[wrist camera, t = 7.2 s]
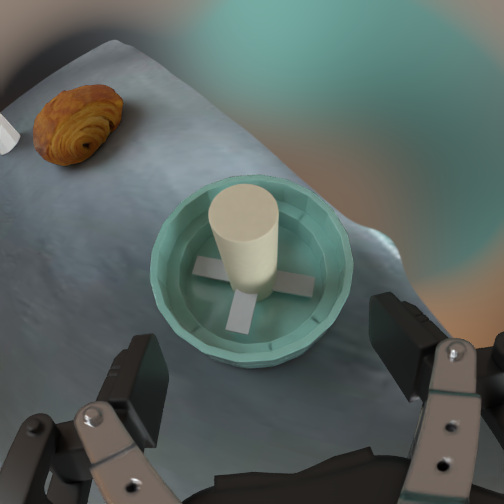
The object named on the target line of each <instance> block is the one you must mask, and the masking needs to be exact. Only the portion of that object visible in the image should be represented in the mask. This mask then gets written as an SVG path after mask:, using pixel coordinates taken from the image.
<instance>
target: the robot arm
mask: <svg viewBox="0 0 504 504" xmlns="http://www.w3.org/2000/svg"><path fill="white" fill-rule="evenodd" d="M369 337H370V341H371V344H372V346H373V348H374V349H375V351H376V352H377V354H378V355H379V357H380V358H381V360H382V361H383V363H384V364H385V366H386V367H387V369H388V370H389V372H390V373H391V375H392V377H393V378H394V380H395V381H396V383H397V384H398V386H399V387H400V389H401V390H402V392H403V394H404V395H405V397H406V398H407V400H408V401H409V403H410V402H412V401H415V400H418V399H421V400H422V402H423V404H422V408H421V412H420V416H419V419H418V423H417V427H416V431H415V434H414V438H413V441H412V444H411V448H410V451H409V454H408V456H407V458H404V457H398V456H390V455H377V456H374V455H373V452H372V450H371V448H370V446H369V447H366V448H363V449H360V450H356V451H353V452H349V453H346V454H342V455H338V456H334V457H332V458H330V459H328V460H325V461H323V462H321V463H319V464H317V465H315V466H312V467H310V468H308V469H305V470H303V471H301V472H298V473H294V474H284V473H262V472H248V473H239V474H229V475H217V476H214V486H212V487H209V488H206V489H204V490H201V491H199V492H197V493H195V494H193V495H192V496H190V497H188V498H187V499H185V500H184V501H183V502H182V503H181V501H180V500H179V499H178V498H177V497H176V495H175V494H174V493H173V492H172V491H171V489H170V488H169V487H168V486H167V485H166V483H165V482H164V481H163V480H162V478H161V477H160V476H159V474H158V473H157V472H156V471H155V469H154V468H153V467H152V465H151V464H150V463H149V461H148V460H147V458H146V457H145V456H144V454H143V453H144V448H156V446H157V440H158V434H159V429H160V424H161V418H162V413H163V408H164V403H165V398H166V393H167V388H168V383H169V373H168V368H167V365H166V362H165V360H164V357H163V354H162V352H161V349H160V346H159V343H158V341H157V338H156V336H155V335H154V334H144V335H135V336H133V338H132V340H131V343H130V345H129V347H128V349H125V350H122V351H121V352H120V353H119V354H118V355H117V356H116V357H115V359H114V361H113V363H112V365H111V367H110V368H111V369H110V370H109V372H108V374H107V377H106V379H105V381H104V383H103V385H102V388H101V390H100V392H99V395H98V397H97V399H96V401H95V402H91V403H88V404H86V405H84V406H83V407H82V408H80V409H79V410H78V412H77V413H76V415H75V417H74V420H72V421H68V422H63V423H58V424H55V423H54V421H53V420H52V419H51V417H50V416H49V415H47V414H43V413H39V414H35V415H32V416H30V417H29V418H27V419H26V420H25V421H24V422H23V423H22V425H21V427H20V429H19V431H18V433H17V435H16V437H15V439H14V441H13V443H12V446H11V448H10V450H9V452H8V454H7V457H6V459H5V461H4V464H3V466H2V468H1V471H0V504H87V502H88V497H89V492H90V487H91V483H92V479H94V481H95V483H96V485H97V487H98V488H99V490H100V492H101V494H102V496H103V498H104V500H105V502H106V503H107V504H504V494H501V493H498V492H494V491H491V490H488V489H485V488H482V487H479V486H477V485H474V484H472V479H473V473H474V467H475V460H476V453H477V446H478V437H479V426H480V414H481V416H482V417H483V419H484V420H485V422H486V423H487V425H488V426H489V428H490V429H491V431H492V432H493V434H494V436H495V437H496V439H497V440H498V442H499V443H500V445H501V446H502V448H503V450H504V332H501V333H500V334H498V335H497V336H496V339H495V342H494V346H492V347H485V348H478V349H475V347H474V346H473V345H472V344H471V343H470V342H468V341H466V340H464V339H460V338H448V337H447V336H446V335H445V334H444V333H443V332H442V331H441V330H440V329H439V328H438V327H437V326H436V325H435V324H434V323H433V322H432V321H431V320H430V321H429V318H428V317H427V316H426V315H423V313H422V312H421V311H420V310H419V309H418V308H417V307H416V306H414V305H412V304H410V303H408V302H406V301H403V302H401V301H400V300H399V299H398V298H397V297H396V296H395V295H394V294H393V293H391V292H386V293H382V294H378V295H373V296H371V298H370V313H369ZM49 470H50V471H51V472H52V473H53V475H52V478H51V481H50V485H49V488H48V491H47V495H45V492H44V485H45V481H46V478H47V475H48V472H49Z"/></svg>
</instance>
